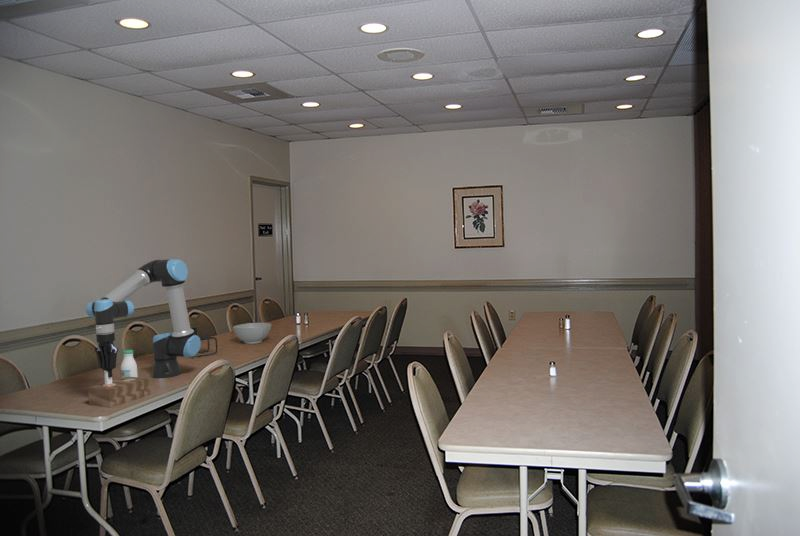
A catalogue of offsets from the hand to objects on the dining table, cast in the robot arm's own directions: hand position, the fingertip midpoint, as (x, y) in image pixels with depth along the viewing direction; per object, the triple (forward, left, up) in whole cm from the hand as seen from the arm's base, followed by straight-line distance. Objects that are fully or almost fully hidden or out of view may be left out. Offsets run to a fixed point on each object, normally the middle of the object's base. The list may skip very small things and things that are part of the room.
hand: (108, 383), depth 273 cm
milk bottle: (-21, -11, -9) cm, 25 cm away
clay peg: (0, 0, -8) cm, 8 cm away
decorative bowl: (-149, -37, -9) cm, 153 cm away
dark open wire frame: (-102, -41, -9) cm, 110 cm away
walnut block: (-6, 0, -9) cm, 11 cm away
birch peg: (-11, 0, -9) cm, 14 cm away
